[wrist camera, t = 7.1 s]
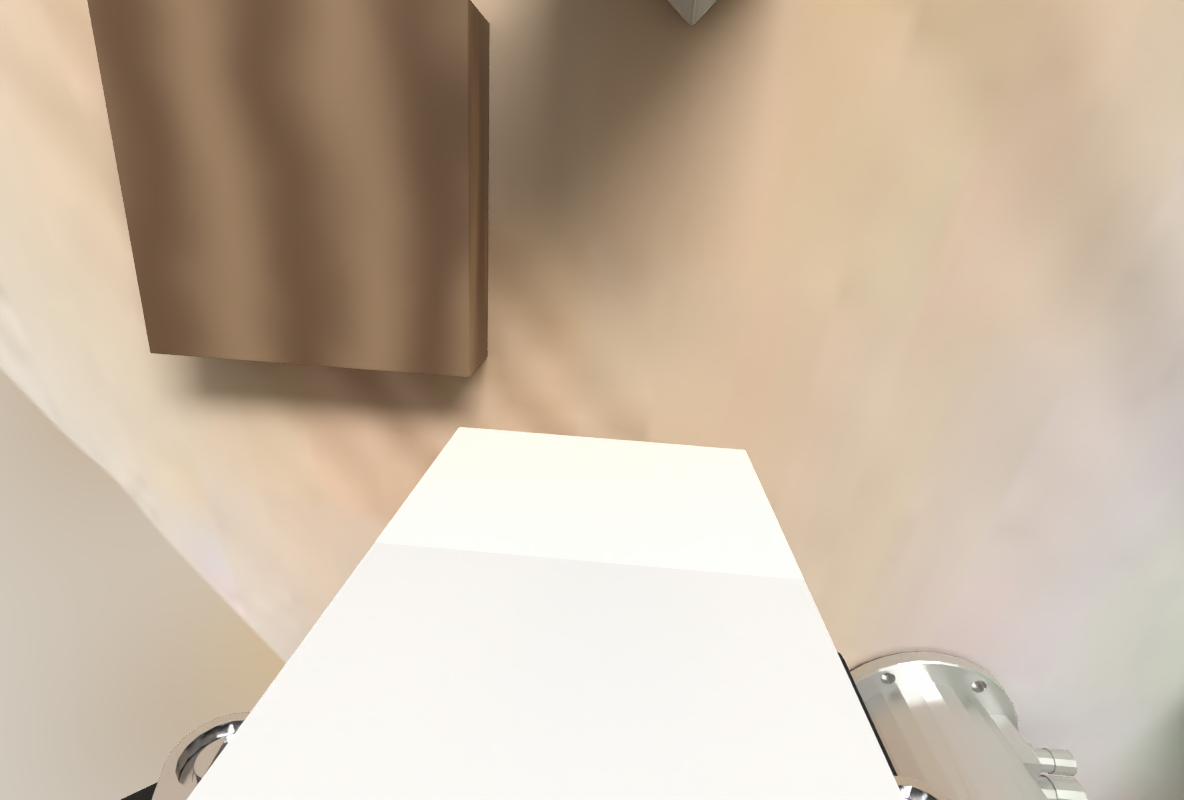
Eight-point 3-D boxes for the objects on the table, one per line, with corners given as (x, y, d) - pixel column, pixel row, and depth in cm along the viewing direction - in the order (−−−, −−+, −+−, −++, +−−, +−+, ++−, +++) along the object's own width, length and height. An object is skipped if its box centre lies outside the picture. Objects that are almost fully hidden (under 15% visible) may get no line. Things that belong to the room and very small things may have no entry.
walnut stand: (489, 23, 28) (467, -3, 24) (487, 356, 33) (469, 377, 30) (154, 4, 29) (82, -25, 25) (203, 335, 34) (150, 352, 30)
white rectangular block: (745, 449, 13) (985, 978, 4) (708, 680, 15) (821, 1363, 6) (459, 427, 13) (123, 885, 4) (461, 657, 15) (233, 1285, 6)
